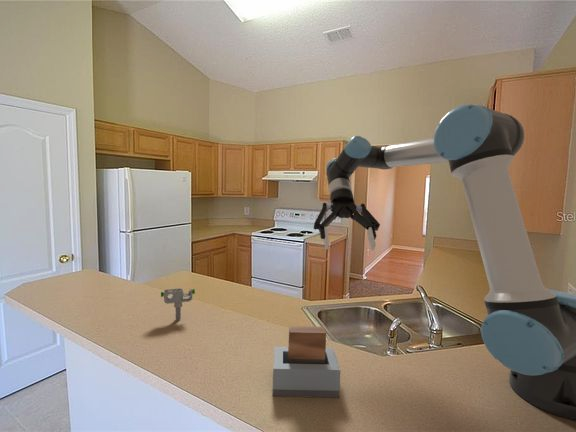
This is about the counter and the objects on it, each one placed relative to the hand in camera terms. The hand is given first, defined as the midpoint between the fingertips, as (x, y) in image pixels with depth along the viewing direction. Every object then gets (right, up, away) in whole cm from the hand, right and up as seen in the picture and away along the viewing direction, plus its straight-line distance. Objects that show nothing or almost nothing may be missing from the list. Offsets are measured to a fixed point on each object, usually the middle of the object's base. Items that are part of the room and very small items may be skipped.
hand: (350, 247), depth 88 cm
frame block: (-15, -28, -20) cm, 38 cm away
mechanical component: (-54, -25, +11) cm, 60 cm away
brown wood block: (-14, -27, -20) cm, 37 cm away
